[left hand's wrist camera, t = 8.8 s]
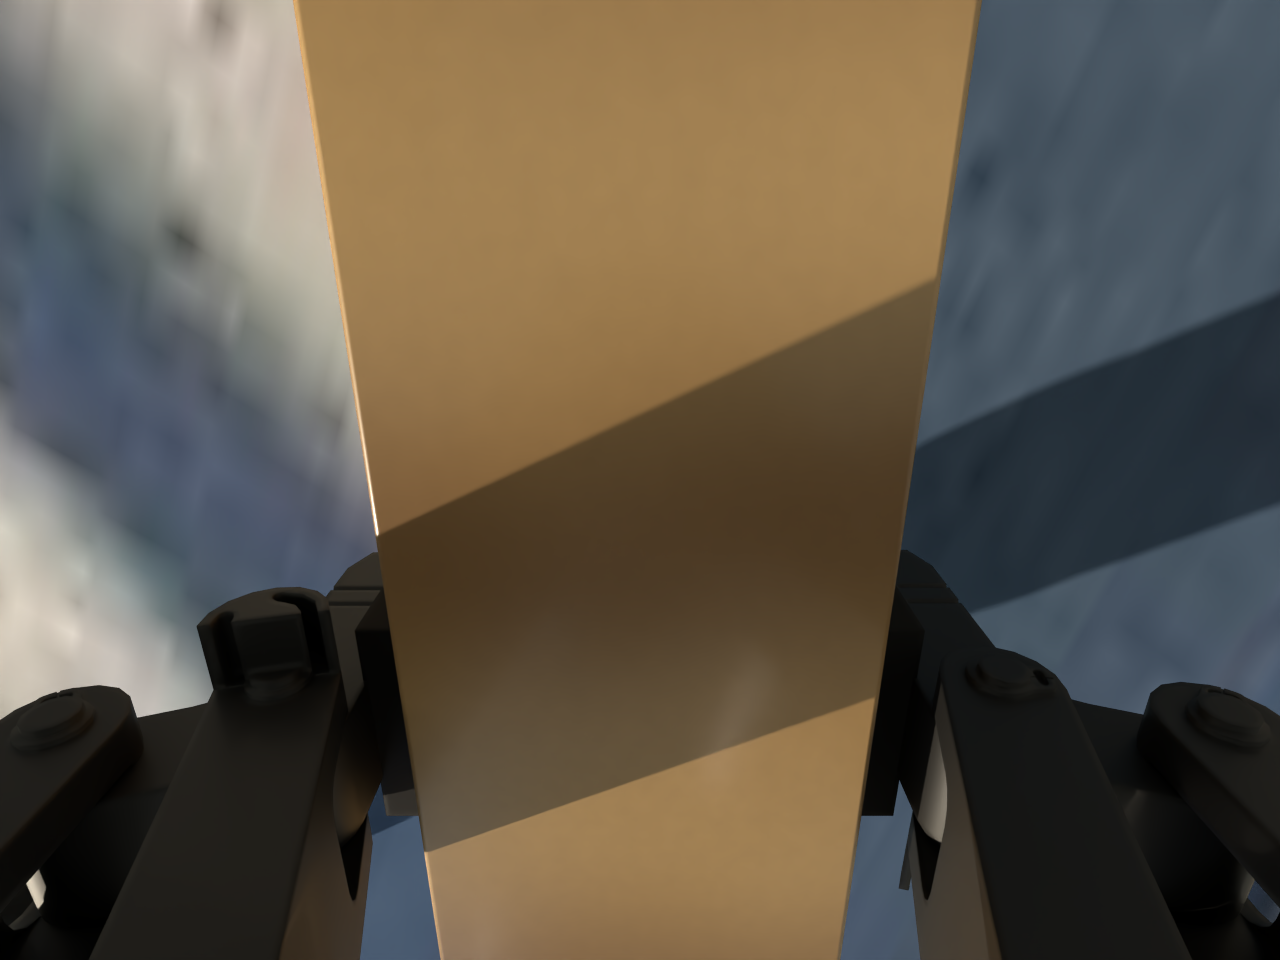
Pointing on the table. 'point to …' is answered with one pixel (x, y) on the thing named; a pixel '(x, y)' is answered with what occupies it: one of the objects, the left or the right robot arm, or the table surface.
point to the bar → (638, 437)
